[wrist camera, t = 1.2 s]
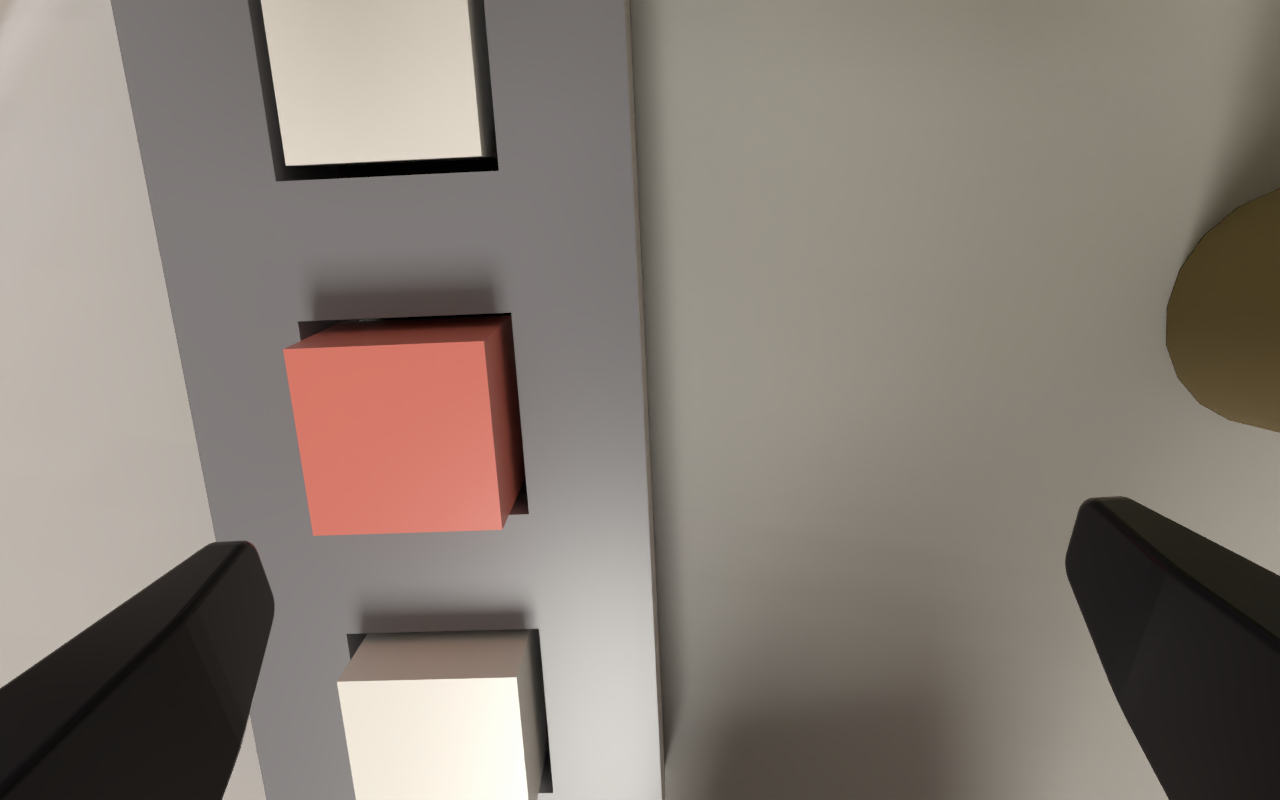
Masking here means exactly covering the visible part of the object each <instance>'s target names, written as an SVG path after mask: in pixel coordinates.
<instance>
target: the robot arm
mask: <svg viewBox="0 0 1280 800" xmlns="http://www.w3.org/2000/svg"><path fill="white" fill-rule="evenodd" d="M1065 566H1066V573H1067V577H1068V580H1069V582H1070V585H1071V587H1072V590H1073V592H1074V595H1075V597H1076V600H1077V602H1078V605H1079V607H1080V610H1081V612H1082V615H1083V617H1084V620H1085V622H1086V625H1087V627H1088V630H1089V632H1090V635H1091V637H1092V640H1093V642H1094V645H1095V647H1096V650H1097V653H1098V655H1099V658H1100V660H1101V663H1102V665H1103V668H1104V670H1105V673H1106V675H1107V678H1108V680H1109V683H1110V685H1111V687H1112V689H1113V692H1114V694H1115V696H1116V699H1117V701H1118V703H1119V705H1120V707H1121V709H1122V711H1123V713H1124V715H1125V717H1126V719H1127V721H1128V723H1129V725H1130V727H1131V729H1132V731H1133V733H1134V734H1135V736H1136V738H1137V740H1138V742H1139V744H1140V746H1141V748H1142V750H1143V751H1144V753H1145V755H1146V757H1147V759H1148V761H1149V763H1150V765H1151V767H1152V768H1153V770H1154V772H1155V774H1156V776H1157V778H1158V780H1159V782H1160V783H1161V785H1162V787H1163V789H1164V791H1165V793H1166V795H1167V797H1168V799H1169V800H1280V576H1279V575H1277V574H1275V573H1273V572H1271V571H1269V570H1267V569H1265V568H1263V567H1261V566H1259V565H1257V564H1255V563H1253V562H1252V561H1250V560H1248V559H1246V558H1244V557H1242V556H1240V555H1238V554H1236V553H1234V552H1232V551H1230V550H1228V549H1226V548H1224V547H1222V546H1221V545H1219V544H1217V543H1215V542H1213V541H1211V540H1209V539H1207V538H1205V537H1203V536H1201V535H1199V534H1197V533H1195V532H1193V531H1192V530H1190V529H1188V528H1186V527H1184V526H1182V525H1180V524H1178V523H1176V522H1174V521H1172V520H1170V519H1168V518H1166V517H1164V516H1162V515H1161V514H1159V513H1157V512H1155V511H1153V510H1151V509H1149V508H1147V507H1145V506H1143V505H1141V504H1139V503H1137V502H1135V501H1133V500H1132V499H1129V498H1127V497H1121V496H1116V497H1097V498H1089V499H1087V500H1085V501H1084V502H1083V503H1082V505H1081V506H1080V508H1079V511H1078V514H1077V518H1076V521H1075V525H1074V528H1073V532H1072V535H1071V539H1070V542H1069V546H1068V549H1067V553H1066V559H1065ZM274 612H275V602H274V596H273V593H272V590H271V587H270V584H269V582H268V579H267V576H266V573H265V570H264V568H263V565H262V562H261V559H260V557H259V554H258V551H257V549H256V547H255V546H254V545H253V544H252V543H250V542H248V541H224V542H214V543H210V544H208V545H207V546H205V547H204V548H202V549H201V550H199V551H198V552H196V553H195V554H193V555H192V556H191V557H189V558H188V559H186V560H185V561H183V562H182V563H180V564H179V565H178V566H176V567H175V568H173V569H172V570H170V571H169V572H168V573H166V574H165V575H163V576H162V577H160V578H159V579H157V580H156V581H155V582H153V583H152V584H150V585H149V586H147V587H146V588H145V589H143V590H142V591H140V592H139V593H137V594H136V595H134V596H133V597H132V598H130V599H129V600H127V601H126V602H124V603H123V604H121V605H120V606H119V607H117V608H116V609H114V610H113V611H111V612H110V613H109V614H107V615H106V616H104V617H103V618H101V619H100V620H98V621H97V622H96V623H94V624H93V625H91V626H90V627H88V628H87V629H85V630H84V631H83V632H81V633H80V634H78V635H77V636H75V637H74V638H72V639H71V640H70V641H68V642H67V643H65V644H64V645H62V646H61V647H60V648H58V649H57V650H55V651H54V652H52V653H51V654H49V655H48V656H47V657H45V658H44V659H42V660H41V661H39V662H38V663H36V664H35V665H34V666H32V667H31V668H29V669H28V670H26V671H25V672H23V673H22V674H21V675H19V676H18V677H16V678H15V679H13V680H12V681H11V682H9V683H8V684H6V685H5V686H3V687H2V688H0V800H222V798H223V795H224V793H225V790H226V787H227V785H228V782H229V779H230V777H231V774H232V771H233V768H234V765H235V763H236V760H237V757H238V754H239V751H240V748H241V745H242V741H243V738H244V734H245V730H246V727H247V723H248V719H249V715H250V711H251V707H252V703H253V699H254V695H255V691H256V687H257V683H258V679H259V675H260V671H261V667H262V663H263V659H264V655H265V651H266V647H267V643H268V639H269V635H270V631H271V627H272V623H273V619H274Z"/></svg>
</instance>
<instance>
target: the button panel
mask: <svg viewBox="0 0 1280 800" xmlns="http://www.w3.org/2000/svg"><path fill="white" fill-rule="evenodd" d="M111 5H112V10H113V15H114V20H115V25H116V30H117V36H118V41H119V46H120V51H121V56H122V61H123V66H124V71H125V77H126V82H127V87H128V92H129V97H130V102H131V107H132V112H133V118H134V123H135V128H136V133H137V138H138V143H139V148H140V153H141V159H142V164H143V169H144V174H145V179H146V184H147V189H148V194H149V200H150V205H151V210H152V215H153V220H154V225H155V230H156V235H157V241H158V246H159V251H160V256H161V261H162V266H163V271H164V276H165V282H166V287H167V292H168V297H169V302H170V307H171V312H172V317H173V323H174V328H175V333H176V338H177V343H178V348H179V353H180V358H181V364H182V369H183V374H184V379H185V384H186V389H187V394H188V399H189V405H190V410H191V415H192V420H193V425H194V430H195V435H196V440H197V446H198V451H199V456H200V461H201V466H202V471H203V476H204V481H205V487H206V492H207V497H208V502H209V507H210V512H211V517H212V522H213V528H214V533H215V538H216V542H224V541H248V542H250V543H252V544H253V545H254V546H255V547H256V549H257V551H258V554H259V557H260V559H261V562H262V565H263V568H264V570H265V573H266V576H267V579H268V582H269V584H270V587H271V590H272V593H273V596H274V602H275V612H274V619H273V623H272V627H271V631H270V635H269V639H268V643H267V647H266V651H265V655H264V659H263V663H262V667H261V671H260V675H259V679H258V683H257V687H256V691H255V695H254V699H253V703H252V707H251V711H250V717H251V722H252V727H253V732H254V738H255V743H256V748H257V753H258V758H259V763H260V768H261V773H262V779H263V784H264V789H265V794H266V799H267V800H356V797H355V791H354V785H353V779H352V773H351V766H350V760H349V754H348V748H347V742H346V735H345V729H344V723H343V717H342V711H341V705H340V698H339V692H338V686H337V681H338V679H339V678H340V676H341V674H342V673H343V671H344V670H345V668H346V667H347V665H348V663H349V662H350V660H351V659H352V657H353V656H354V654H355V653H356V651H357V649H358V648H359V646H360V645H361V643H362V642H363V640H364V638H365V637H366V635H367V634H368V633H396V632H433V631H470V630H507V629H539V635H540V646H541V658H542V669H543V680H544V692H545V703H546V707H545V709H546V721H547V732H548V748H547V753H546V758H545V763H544V768H543V773H542V778H541V783H540V788H539V793H538V798H537V800H665V761H664V739H663V718H662V696H661V674H660V652H659V630H658V608H657V586H656V564H655V543H654V521H653V499H652V477H651V455H650V433H649V411H648V389H647V367H646V346H645V324H644V302H643V280H642V258H641V236H640V214H639V192H638V171H637V149H636V127H635V105H634V83H633V61H632V39H631V17H630V0H484V8H485V19H486V30H487V42H488V53H489V65H490V76H491V87H492V99H493V110H494V122H495V133H496V144H497V156H498V167H499V171H483V172H462V173H442V174H421V175H400V176H380V177H359V178H339V172H338V166H286V163H285V157H284V150H283V144H282V137H281V130H280V124H279V117H278V111H277V104H276V97H275V91H274V84H273V78H272V71H271V65H270V58H269V51H268V45H267V38H266V32H265V25H264V18H263V12H262V5H261V0H111ZM490 313H511V315H512V327H513V338H514V350H515V361H516V372H517V384H518V395H519V407H520V418H521V429H522V441H523V452H524V470H525V480H524V483H523V485H522V487H521V489H520V491H519V494H518V496H517V498H516V500H515V503H514V505H513V507H512V509H511V511H510V514H509V516H508V518H507V520H506V523H505V525H504V527H503V529H502V530H482V531H451V532H419V533H388V534H356V535H325V536H313V531H312V525H311V519H310V513H309V507H308V501H307V494H306V488H305V482H304V476H303V470H302V463H301V457H300V451H299V445H298V439H297V433H296V426H295V420H294V414H293V408H292V402H291V395H290V389H289V383H288V377H287V371H286V365H285V358H284V352H283V349H285V348H287V347H289V346H291V345H293V344H295V343H297V342H299V341H301V340H304V339H306V338H308V337H310V336H312V335H314V334H316V333H318V332H321V331H323V330H325V329H327V328H329V327H331V326H333V325H335V324H337V323H340V322H359V319H370V318H394V317H418V316H442V315H466V314H490Z"/></svg>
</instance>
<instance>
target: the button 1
mask: <svg viewBox="0 0 1280 800" xmlns="http://www.w3.org/2000/svg"><path fill="white" fill-rule="evenodd" d="M261 5H262V12H263V18H264V25H265V32H266V38H267V45H268V51H269V58H270V65H271V71H272V78H273V84H274V91H275V97H276V104H277V111H278V117H279V124H280V130H281V137H282V144H283V150H284V157H285V163H286V166H353V165H373V164H394V163H414V162H434V161H455V160H475V159H495V158H498V156H497V144H496V133H495V122H494V110H493V99H492V87H491V76H490V65H489V53H488V42H487V30H486V19H485V8H484V0H261Z"/></svg>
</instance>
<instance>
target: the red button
mask: <svg viewBox="0 0 1280 800" xmlns="http://www.w3.org/2000/svg"><path fill="white" fill-rule="evenodd" d="M283 352H284V358H285V365H286V371H287V377H288V383H289V389H290V395H291V402H292V408H293V414H294V420H295V426H296V433H297V439H298V445H299V451H300V457H301V463H302V470H303V476H304V482H305V488H306V494H307V501H308V507H309V513H310V519H311V525H312V531H313V536H325V535H356V534H388V533H419V532H451V531H482V530H502V529H503V527H504V525H505V523H506V520H507V518H508V516H509V514H510V511H511V509H512V507H513V505H514V503H515V500H516V498H517V496H518V494H519V491H520V489H521V487H522V485H523V483H524V480H525V470H524V459H523V448H522V436H521V425H520V413H519V402H518V391H517V379H516V368H515V357H514V345H513V334H512V322H511V315H507V316H483V317H459V318H435V319H411V320H387V321H363V322H340V323H337V324H335V325H333V326H331V327H329V328H327V329H325V330H323V331H321V332H318V333H316V334H314V335H312V336H310V337H308V338H306V339H304V340H301V341H299V342H297V343H295V344H293V345H291V346H289V347H287V348H285V349H283Z"/></svg>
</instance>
